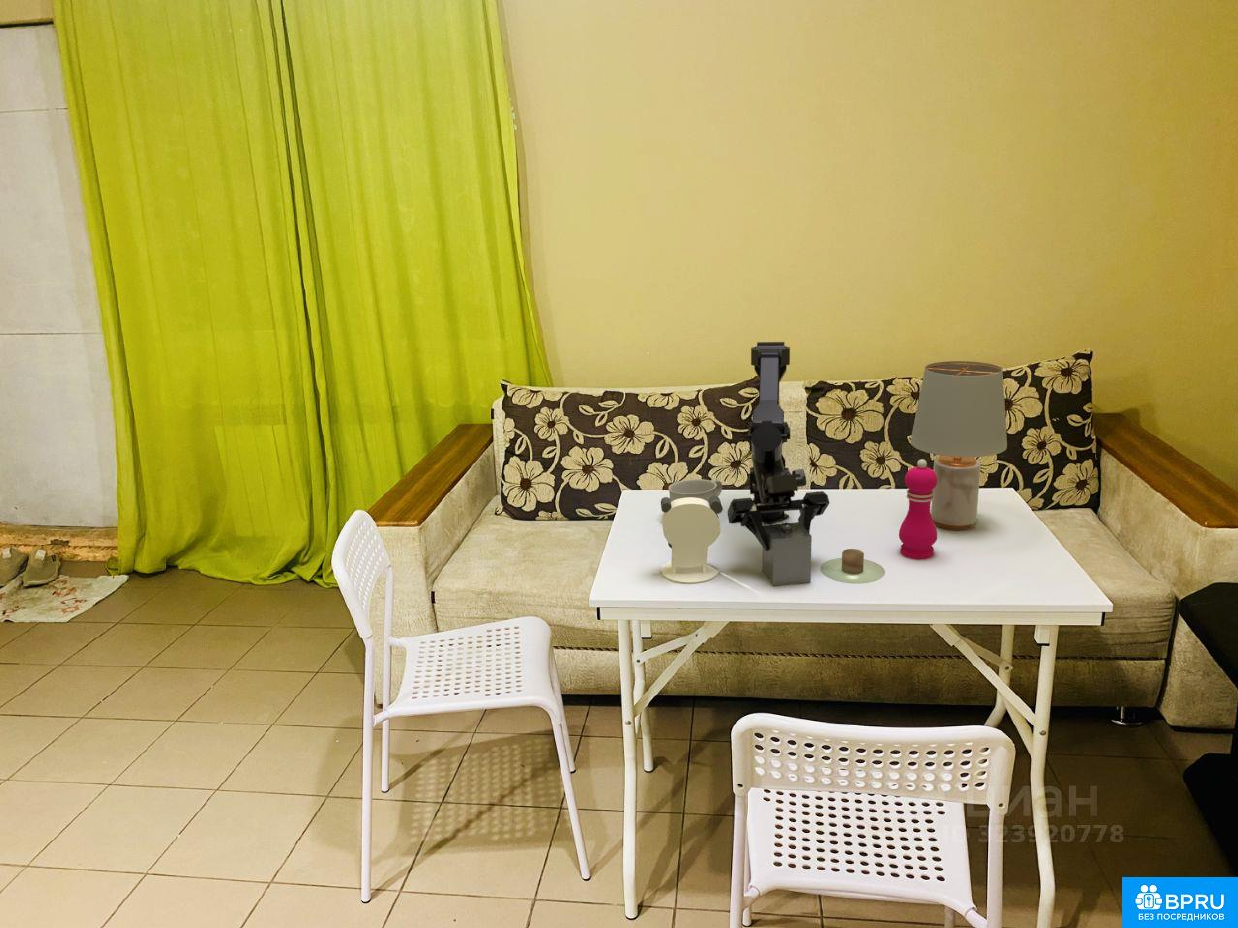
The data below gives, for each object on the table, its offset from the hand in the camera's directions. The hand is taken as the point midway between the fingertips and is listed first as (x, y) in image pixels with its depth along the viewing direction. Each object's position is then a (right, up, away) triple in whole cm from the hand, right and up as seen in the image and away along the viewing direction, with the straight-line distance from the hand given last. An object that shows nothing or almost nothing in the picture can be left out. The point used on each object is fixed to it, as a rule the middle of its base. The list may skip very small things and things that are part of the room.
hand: (787, 548), depth 174 cm
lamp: (+40, +3, +25) cm, 48 cm away
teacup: (-13, +4, +36) cm, 39 cm away
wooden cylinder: (+13, -4, +4) cm, 14 cm away
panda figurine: (-17, -5, +8) cm, 20 cm away
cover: (0, -6, +2) cm, 7 cm away
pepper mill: (+28, -3, +10) cm, 30 cm away
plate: (+13, -5, +4) cm, 15 cm away
